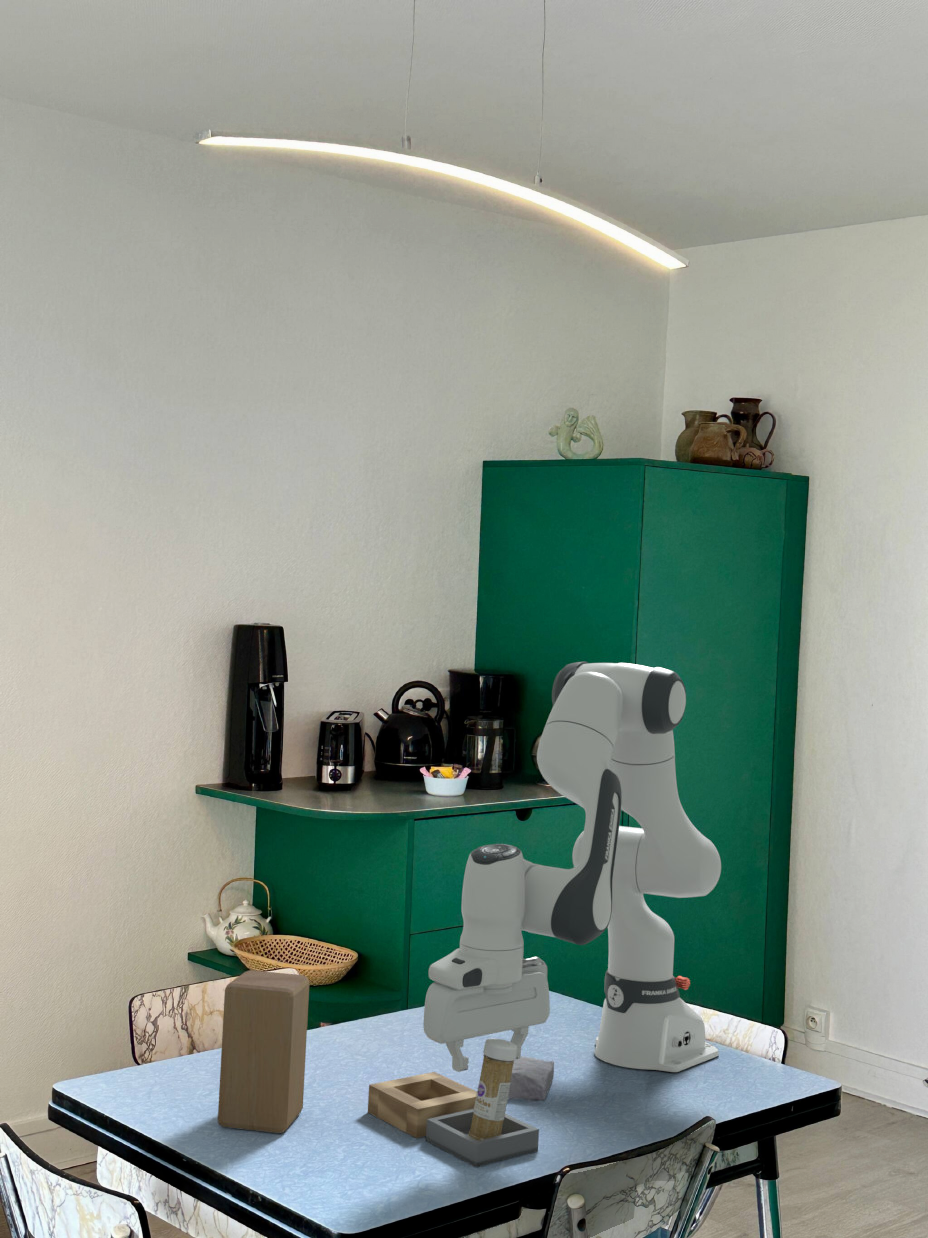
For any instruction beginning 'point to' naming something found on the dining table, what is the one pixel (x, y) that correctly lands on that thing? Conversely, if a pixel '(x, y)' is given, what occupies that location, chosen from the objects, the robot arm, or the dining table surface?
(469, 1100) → the oak bore block
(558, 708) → the robot arm
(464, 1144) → the tray
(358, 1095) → the dining table surface
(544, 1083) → the stone block
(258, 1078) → the wooden block
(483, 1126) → the sprinkles bottle
